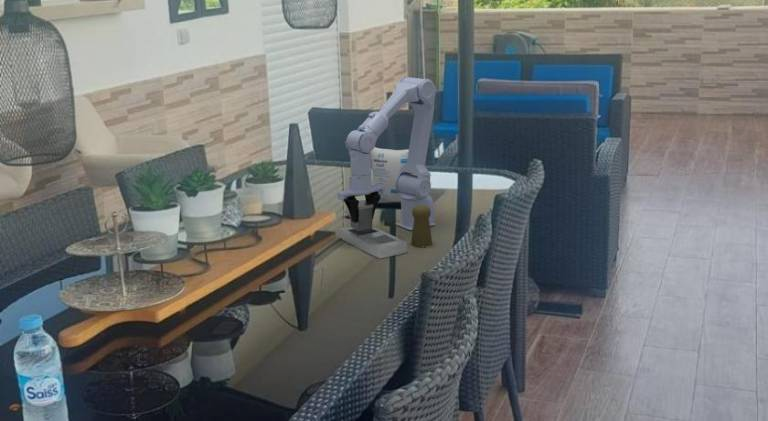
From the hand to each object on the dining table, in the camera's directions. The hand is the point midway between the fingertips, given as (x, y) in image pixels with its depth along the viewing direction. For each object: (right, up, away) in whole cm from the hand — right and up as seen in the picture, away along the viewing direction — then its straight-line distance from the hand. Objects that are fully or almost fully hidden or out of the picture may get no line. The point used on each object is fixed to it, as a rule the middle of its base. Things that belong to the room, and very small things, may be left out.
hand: (362, 220), depth 257 cm
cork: (+17, -7, -2) cm, 18 cm away
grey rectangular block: (0, -2, +1) cm, 2 cm away
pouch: (+10, +4, +36) cm, 38 cm away
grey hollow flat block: (+3, -7, -2) cm, 8 cm away
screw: (-4, +1, +26) cm, 26 cm away
